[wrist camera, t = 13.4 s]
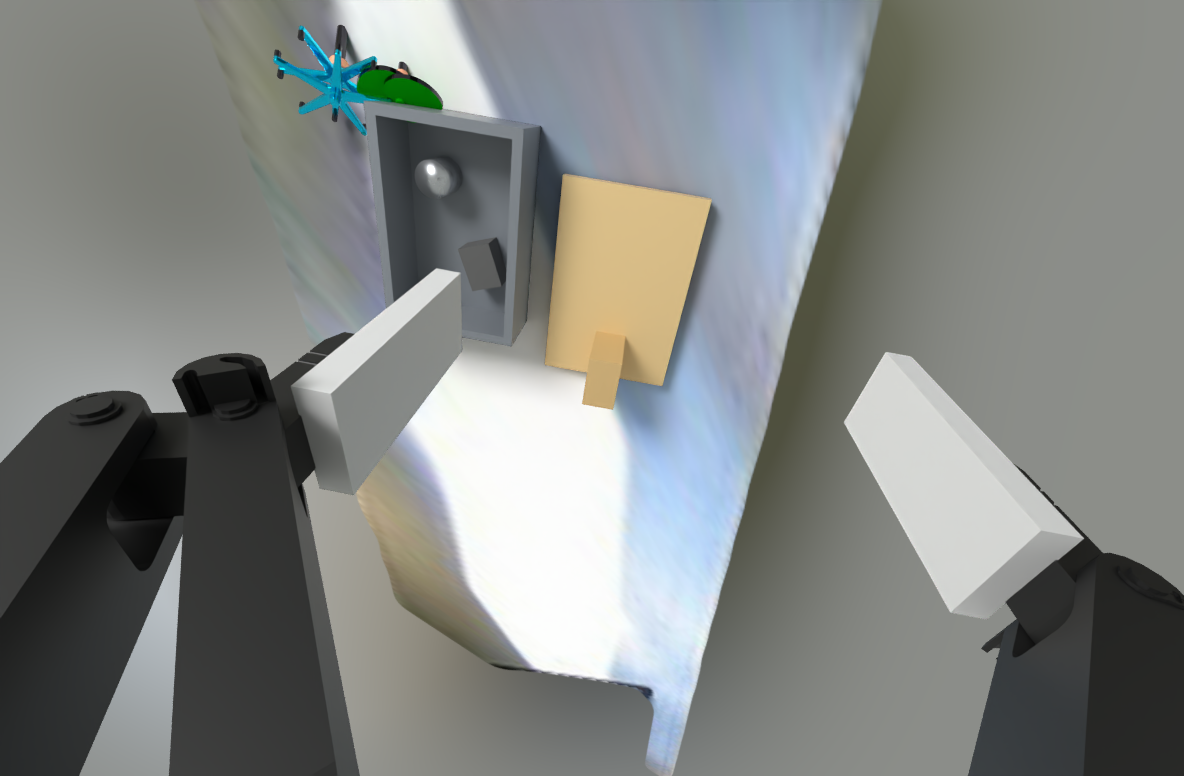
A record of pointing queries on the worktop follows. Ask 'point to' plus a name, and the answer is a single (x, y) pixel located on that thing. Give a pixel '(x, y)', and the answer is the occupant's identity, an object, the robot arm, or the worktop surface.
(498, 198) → the tub
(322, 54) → the small teal pieces
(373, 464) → the robot arm
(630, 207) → the lid
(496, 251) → the rubber block
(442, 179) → the dark grey round lump
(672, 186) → the worktop surface
